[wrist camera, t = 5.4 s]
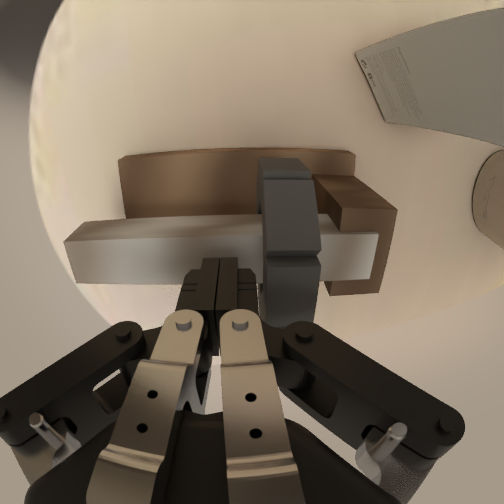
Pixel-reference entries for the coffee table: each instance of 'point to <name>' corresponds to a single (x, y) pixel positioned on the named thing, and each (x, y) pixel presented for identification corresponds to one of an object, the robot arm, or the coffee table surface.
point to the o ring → (288, 242)
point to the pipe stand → (229, 219)
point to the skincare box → (443, 76)
